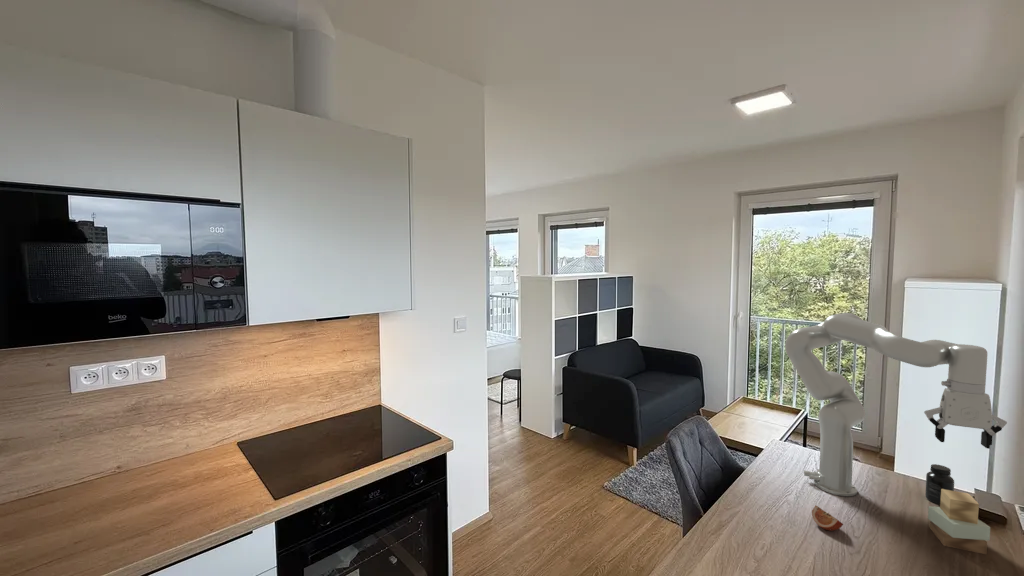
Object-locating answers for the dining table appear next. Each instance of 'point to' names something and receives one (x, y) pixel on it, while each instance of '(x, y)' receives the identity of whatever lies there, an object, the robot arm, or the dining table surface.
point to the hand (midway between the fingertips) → (962, 443)
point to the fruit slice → (825, 519)
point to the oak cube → (959, 506)
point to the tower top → (958, 526)
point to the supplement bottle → (938, 482)
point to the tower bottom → (959, 541)
